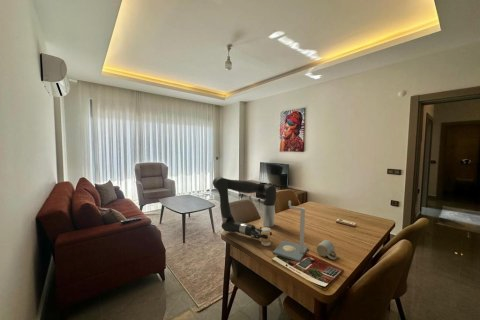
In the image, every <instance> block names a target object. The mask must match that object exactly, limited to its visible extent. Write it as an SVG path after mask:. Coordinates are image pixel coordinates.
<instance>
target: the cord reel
mask: <svg viewBox="0 0 480 320" xmlns="http://www.w3.org/2000/svg"><path fill="white" fill-rule="evenodd" d="M261 227H262V228H261V230H262V232H261V233H262V234H264V235H267V236H268V239H265V238H261V241H260V243H261V244H260V245H262V246H264V247H268V246H271V236H270V232H271V227H266V226H261Z"/></svg>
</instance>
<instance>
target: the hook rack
mask: <svg viewBox="0 0 480 320" xmlns="http://www.w3.org/2000/svg"><path fill="white" fill-rule="evenodd" d="M287 206H288V207H289V209H291V210H293V209H294V210H297V211H300V215H299V216H300V219H299V220H300V221H299V223H300V224H299V243H296V242H292V241H288V240H282V242H280V243H279V245H277V247H276V248H275V249H274V250H273V251H272V254H273V255H275V256H279V257H283V258H285V259H289V260H292V261H294V262H296V263H297V262H298V263H301V260H302V259H303V258H304V255H306V253H307V251H308V250H309V246H306V245H305V222H306V208H305V207H300V206H295V205H292V201H291V200H288V205H287Z"/></svg>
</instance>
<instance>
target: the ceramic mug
mask: <svg viewBox="0 0 480 320" xmlns="http://www.w3.org/2000/svg"><path fill="white" fill-rule="evenodd" d="M315 249H316V252H317V254H318V255H319V256H321V257H323V258H324V257H328V259H331V260H336V259H337V258H338V255H337V253H336V252H335V245H334V244H333V243H332V241H331V240H328V239H324V240H323V241H321V242H319V243H318V244H317V246H316V248H315ZM332 254H333V255H334V257H333V256H331V255H332Z"/></svg>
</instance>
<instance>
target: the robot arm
mask: <svg viewBox="0 0 480 320" xmlns="http://www.w3.org/2000/svg"><path fill="white" fill-rule="evenodd" d="M212 185H213V187H214V188H215V189H217V192H218V194H219V199H220V201H219V208H220V214H221V217H222V218H223V219H226V220H223V222H222V223H221V228H222V230H223V231H225V232H227V233H228V232H229V233H239V234H241V235H244V236H247V237H250V238H252V239H257V240H260V239H262V238H265V239H268V236H267V235H264V234H262V230H261V228H262V227H269V228H272V227H274V226H275V213H276V212H275V210H276V209H275V206H276V205H275V203H276V200H277V189H276V187H275V186H274V185H272V184H268V183H256V182H253V181H249V180H240V179H239V180H238V179H230V178H229V179H228V178H224V177H221V176H216V177H215V178H214V179H213V180H212ZM229 190H232V191H235V192H238V193H243V194H254V193H255V194H261V195H264V196H265V199H264V200H263V202H262V226H259V227H258V228H256V226H255V225H254V224H250V223H245V222H241V221H240V222H239V221H236V222H235V219H234V217H233V214H232V210H231V207H230V201H229ZM263 225H264V226H263ZM271 236H272V232H271V231H270V237H271Z"/></svg>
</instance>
